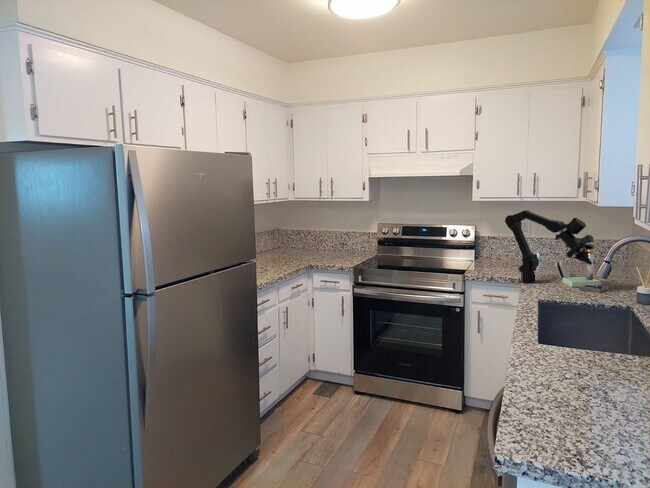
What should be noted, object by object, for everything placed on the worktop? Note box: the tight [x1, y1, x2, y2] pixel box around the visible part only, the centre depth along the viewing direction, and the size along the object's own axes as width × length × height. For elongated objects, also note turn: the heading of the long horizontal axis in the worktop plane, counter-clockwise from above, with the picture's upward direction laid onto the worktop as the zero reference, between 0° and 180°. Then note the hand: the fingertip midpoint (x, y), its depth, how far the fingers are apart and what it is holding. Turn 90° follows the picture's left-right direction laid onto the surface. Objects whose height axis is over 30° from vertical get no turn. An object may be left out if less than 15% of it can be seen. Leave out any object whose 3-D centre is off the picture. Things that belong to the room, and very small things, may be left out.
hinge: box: [554, 260, 571, 279], centre depth 270 cm, size 17×5×10 cm, turn 150°
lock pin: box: [585, 248, 596, 280], centre depth 228 cm, size 4×4×15 cm
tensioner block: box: [578, 284, 607, 294], centre depth 228 cm, size 9×7×3 cm
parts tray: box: [561, 276, 602, 288], centre depth 243 cm, size 14×12×3 cm
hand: (592, 263), depth 227 cm, fingers closed on lock pin, 3 cm apart
